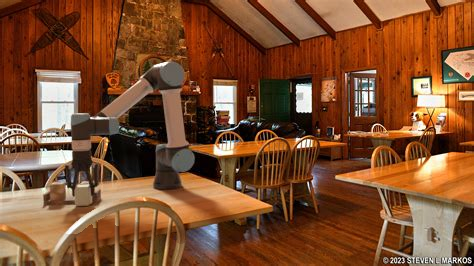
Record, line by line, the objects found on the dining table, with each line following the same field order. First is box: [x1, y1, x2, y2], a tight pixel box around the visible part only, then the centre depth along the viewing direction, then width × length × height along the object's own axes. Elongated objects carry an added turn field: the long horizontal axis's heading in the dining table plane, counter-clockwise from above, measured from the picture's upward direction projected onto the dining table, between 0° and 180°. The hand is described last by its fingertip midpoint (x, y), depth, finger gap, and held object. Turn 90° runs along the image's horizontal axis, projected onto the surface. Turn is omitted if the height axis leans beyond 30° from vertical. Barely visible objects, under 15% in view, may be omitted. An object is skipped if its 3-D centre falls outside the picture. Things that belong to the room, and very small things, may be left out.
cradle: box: [42, 180, 102, 206], centre depth 159 cm, size 22×8×8 cm, turn 100°
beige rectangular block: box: [75, 184, 90, 207], centre depth 153 cm, size 5×5×8 cm
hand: (83, 203), depth 153 cm, fingers closed on beige rectangular block, 5 cm apart
